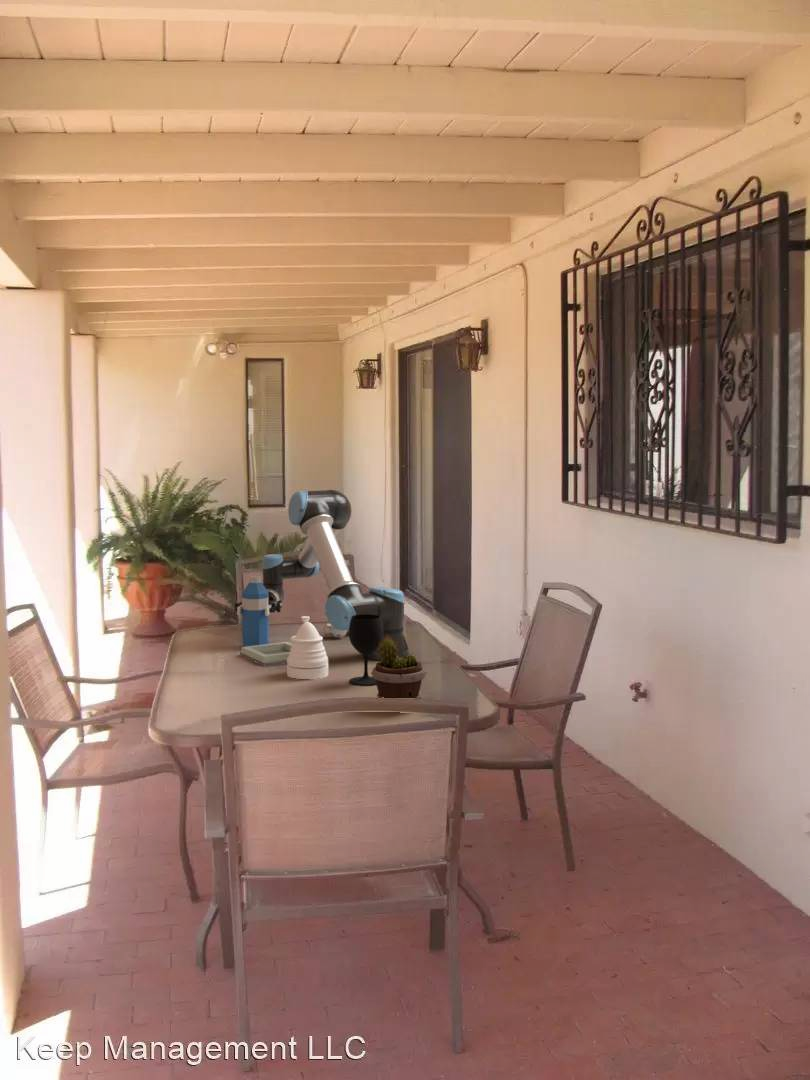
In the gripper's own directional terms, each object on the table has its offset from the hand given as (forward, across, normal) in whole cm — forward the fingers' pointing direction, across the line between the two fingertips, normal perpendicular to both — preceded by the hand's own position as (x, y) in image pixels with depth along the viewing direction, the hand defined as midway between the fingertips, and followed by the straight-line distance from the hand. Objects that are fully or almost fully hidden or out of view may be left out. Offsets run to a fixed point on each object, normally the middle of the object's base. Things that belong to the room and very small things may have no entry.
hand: (252, 611), depth 357 cm
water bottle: (-5, 0, -14) cm, 14 cm away
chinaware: (-29, -34, -14) cm, 47 cm away
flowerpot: (+65, -57, -14) cm, 88 cm away
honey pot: (+33, -25, -14) cm, 44 cm away
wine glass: (+39, -44, -14) cm, 61 cm away
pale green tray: (+10, -10, -14) cm, 20 cm away
